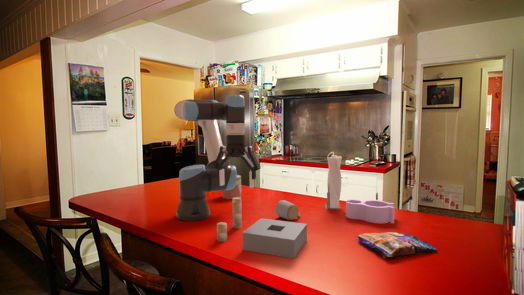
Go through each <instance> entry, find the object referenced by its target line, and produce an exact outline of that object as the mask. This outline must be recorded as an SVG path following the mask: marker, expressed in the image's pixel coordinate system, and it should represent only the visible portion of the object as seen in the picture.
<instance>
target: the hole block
mask: <svg viewBox="0 0 524 295" xmlns="http://www.w3.org/2000/svg"><path fill="white" fill-rule="evenodd" d="M307 230H308V224H307V223H302V222H295V221H288V220H286V221H285V220H277V219H270V218H269V219H268V218H260V219H259V220H257V221H255V223H253V224H252V225H250V226H249V227H248V228H246V229H245V230H244V231H242V250H243V251H249V252H254V253H260V254H267V255H272V256H278V257H282V258H283V257H284V258H289V259H296V257H297V255H298V254H299V253H300V251H301V249H302V248H303V247H304V245H305V244H306V242H307V240H308V231H307Z"/></svg>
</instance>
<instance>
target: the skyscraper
mask: <svg viewBox="0 0 524 295" xmlns="http://www.w3.org/2000/svg"><path fill="white" fill-rule="evenodd" d="M330 154H332V155H331V156H329V155H330ZM326 158H327V159H326V160H327V164H328V173H327V192H326V197H327V198H326V204H324V207H325V209H326V210H341V209H342V208H341V205H340V197H341V192H342V173H341V164H342V159H343V156H342V155H335V152H334V151H331V152H329V153H328V155H327V157H326Z"/></svg>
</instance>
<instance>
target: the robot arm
mask: <svg viewBox="0 0 524 295" xmlns="http://www.w3.org/2000/svg"><path fill="white" fill-rule="evenodd" d="M245 103H246V102H245V97H244V95H241V94H230V95H229V94H227V95H226V96H225V101H224V102H222V101H221V102H219V101H217V100H214V99H192V98H190V99H185V100H184V99H183V100H180V101H178V102H177V103H176V104H175V106H174V110H173V111H174V114H175V116H176V118H178V119H180V120H183V121H186V122H197V124H198V126H199V127H201V129H202V134H203V138H204V139H203V140H204V144H205V148H206V149H205V150H206V154H207V159H208V163H207V165H205V164H193V165H188V166H184V167H183V168H181V169H180V170H179V175H178V181H179V203H178V206H177V209H176V219H177V220H180V221H187V222H190V221H191V222H192V221H194V222H195V221H201V220H204V219H207V218H208V217H210V216H211V210H210V206H209V204H208V202H207V196H206V195H207V193H213V192H215V193H216V192H222V191H226V190H231V189H233V188H234V187H235V185H236V180H237V175H238V173H237V172H238V171H237V167H236V166H235V165H231V161H230V159H231V158H240V159H242V161H243V162H244V164H246V166H247V167H248V168H249V170H250V171H249V172H248V173H249V175H248V176H249V189H253V188H254V187H255V180H256V179H257V171H258V170H261V165H260V163H259V161H258V159H257V157H256V155H255V153H254V149H253V146H252V145H251V146H246V135H245V133H246V124H245V121H246V118H245V117H246V116H245V115H246V113H245V111H246V110H245V108H246V107H245V105H246V104H245ZM220 121H225V129H226V134H227V135H226V136H225V137H226V139H225V140H226V146H225V145H223V142H222V137H221V136H222V135H221V132H220V128H219V123H220ZM226 151H227V153H225V152H226ZM246 152H247V154H246ZM249 158H250V159H249Z"/></svg>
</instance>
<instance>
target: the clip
mask: <svg viewBox="0 0 524 295" xmlns="http://www.w3.org/2000/svg"><path fill="white" fill-rule="evenodd" d="M345 217H346V218H347V219H350V220H351V219H352V220H361V221H364V222H365V221H366V222H368V223H371V224H372V223H373V224H387V223H388V222H390V223H388V224H395V203H394V202H387V201H384V200H379V199H378V200H377V199H364V200H361V199H356V198H355V199H354V198H353V199H347V200H346V202H345Z"/></svg>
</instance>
